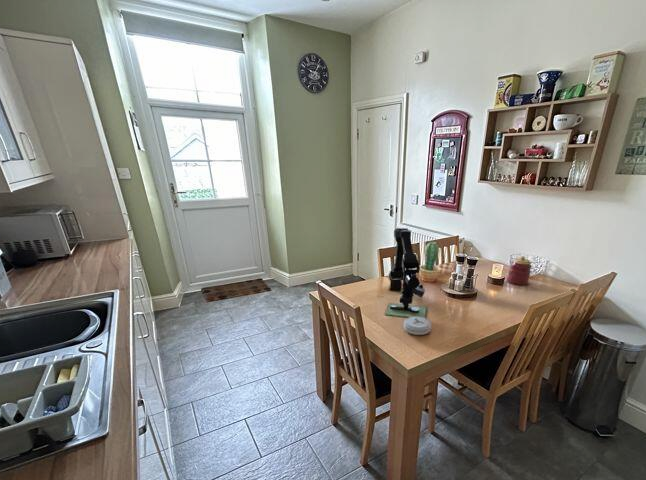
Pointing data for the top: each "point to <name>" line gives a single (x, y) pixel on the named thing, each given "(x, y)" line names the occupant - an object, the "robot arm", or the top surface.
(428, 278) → the potted cactus
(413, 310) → the spoon
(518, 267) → the kitchen canister
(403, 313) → the placemat
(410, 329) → the lid
